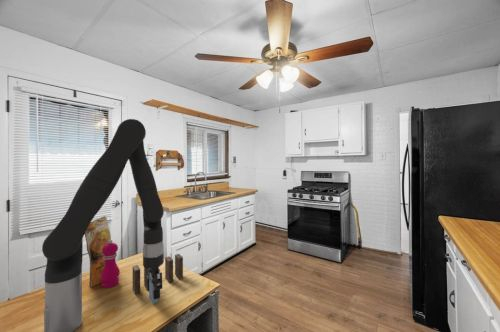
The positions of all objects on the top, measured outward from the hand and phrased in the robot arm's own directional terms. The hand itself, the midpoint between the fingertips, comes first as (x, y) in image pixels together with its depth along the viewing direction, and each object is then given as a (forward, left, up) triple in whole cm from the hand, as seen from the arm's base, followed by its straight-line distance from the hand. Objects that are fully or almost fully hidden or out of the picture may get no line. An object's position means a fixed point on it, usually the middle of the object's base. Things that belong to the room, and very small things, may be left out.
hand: (153, 293), depth 86 cm
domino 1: (-4, +11, -3) cm, 12 cm away
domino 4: (+10, +11, -3) cm, 15 cm away
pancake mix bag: (-15, +33, -3) cm, 36 cm away
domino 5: (+14, +11, -3) cm, 18 cm away
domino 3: (0, 0, -3) cm, 3 cm away
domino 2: (0, +11, -3) cm, 11 cm away
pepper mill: (-12, +24, -3) cm, 27 cm away
